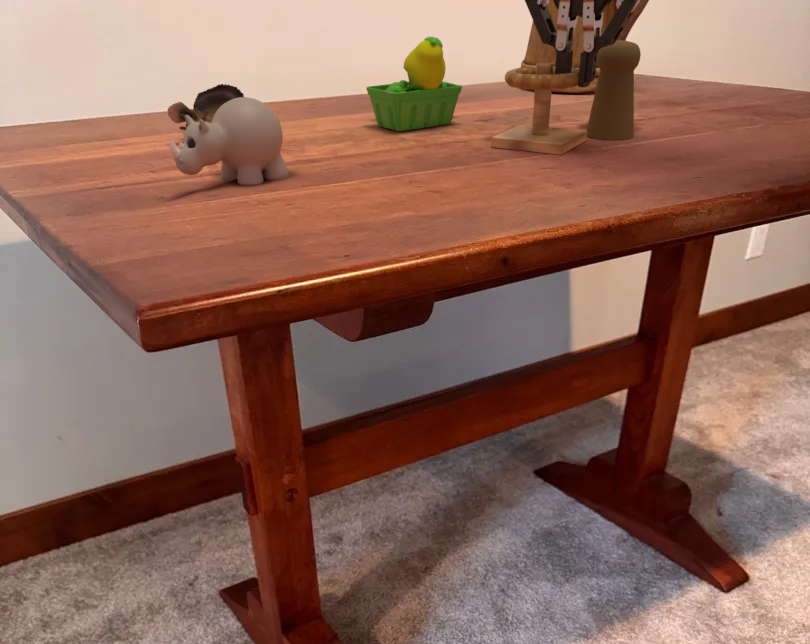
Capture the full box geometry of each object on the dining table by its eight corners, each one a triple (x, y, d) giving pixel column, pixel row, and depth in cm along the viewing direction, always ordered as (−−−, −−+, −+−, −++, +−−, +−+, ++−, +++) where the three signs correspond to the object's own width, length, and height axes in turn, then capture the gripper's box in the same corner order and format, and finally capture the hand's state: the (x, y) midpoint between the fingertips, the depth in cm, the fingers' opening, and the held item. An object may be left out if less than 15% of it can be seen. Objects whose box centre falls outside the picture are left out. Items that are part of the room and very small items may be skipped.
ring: (594, 81, 96) (595, 66, 95) (567, 92, 89) (568, 76, 89) (523, 78, 100) (523, 64, 100) (492, 88, 94) (492, 73, 93)
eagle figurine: (229, 139, 97) (261, 112, 103) (189, 88, 94) (224, 63, 101) (191, 168, 101) (224, 141, 108) (152, 120, 99) (188, 95, 105)
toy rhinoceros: (162, 191, 81) (147, 103, 77) (264, 172, 88) (256, 89, 83) (194, 206, 76) (180, 113, 72) (300, 184, 83) (293, 97, 78)
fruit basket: (430, 116, 115) (430, 30, 109) (470, 125, 109) (472, 34, 103) (364, 126, 109) (361, 35, 104) (402, 136, 103) (401, 41, 97)
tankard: (555, 75, 149) (568, -81, 136) (672, 88, 135) (698, -86, 122) (496, 87, 138) (504, -83, 125) (617, 102, 124) (639, -88, 111)
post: (586, 140, 100) (594, 60, 95) (561, 154, 93) (568, 70, 88) (519, 133, 104) (524, 57, 99) (490, 147, 97) (494, 65, 92)
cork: (585, 139, 100) (595, 43, 95) (585, 129, 105) (594, 38, 100) (635, 140, 99) (647, 43, 94) (632, 130, 105) (644, 38, 99)
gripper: (515, -88, 85) (507, 86, 93) (644, -92, 79) (622, 94, 87) (542, -86, 90) (531, 78, 99) (664, -90, 84) (641, 85, 93)
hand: (574, 85), depth 93 cm, fingers closed on ring, 2 cm apart
